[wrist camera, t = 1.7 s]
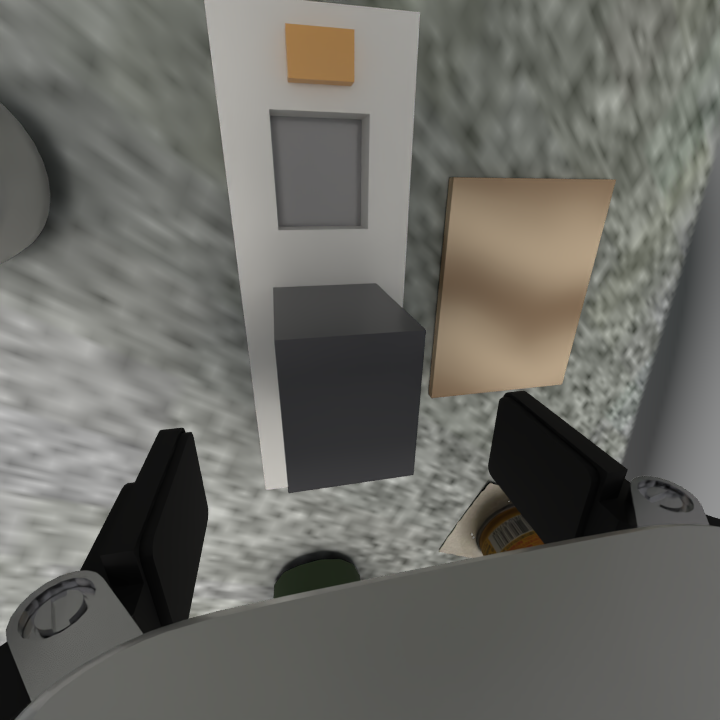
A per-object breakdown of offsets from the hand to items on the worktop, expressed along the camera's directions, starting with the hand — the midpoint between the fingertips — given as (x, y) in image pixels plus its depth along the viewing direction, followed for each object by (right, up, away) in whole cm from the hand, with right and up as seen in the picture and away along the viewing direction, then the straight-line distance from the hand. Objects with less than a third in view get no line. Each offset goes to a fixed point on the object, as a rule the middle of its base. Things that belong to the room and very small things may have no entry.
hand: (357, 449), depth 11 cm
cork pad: (+9, +6, +10) cm, 15 cm away
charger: (-2, +4, +7) cm, 8 cm away
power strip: (-2, +6, +8) cm, 10 cm away
